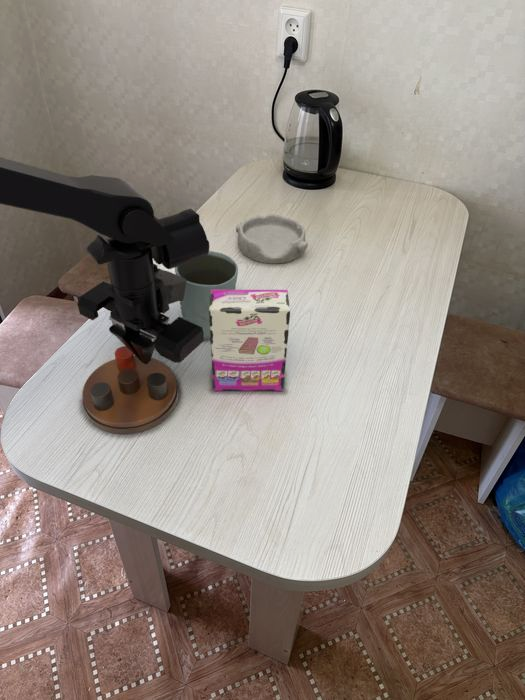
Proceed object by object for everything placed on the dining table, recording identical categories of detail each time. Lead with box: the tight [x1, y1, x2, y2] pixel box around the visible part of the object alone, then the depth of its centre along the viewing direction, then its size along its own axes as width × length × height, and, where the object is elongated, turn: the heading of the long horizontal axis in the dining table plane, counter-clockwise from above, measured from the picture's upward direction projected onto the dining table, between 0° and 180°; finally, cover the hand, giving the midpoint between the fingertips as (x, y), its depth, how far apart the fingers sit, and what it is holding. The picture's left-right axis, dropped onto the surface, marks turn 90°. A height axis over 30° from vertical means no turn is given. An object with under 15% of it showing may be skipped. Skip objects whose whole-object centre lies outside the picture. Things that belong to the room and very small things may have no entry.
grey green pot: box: [174, 250, 239, 340], centre depth 86 cm, size 10×10×12 cm
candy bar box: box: [209, 289, 291, 392], centre depth 75 cm, size 11×5×16 cm, turn 92°
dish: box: [235, 213, 309, 264], centre depth 107 cm, size 14×14×5 cm
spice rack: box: [82, 345, 177, 428], centre depth 74 cm, size 14×14×4 cm
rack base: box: [82, 378, 179, 435], centre depth 76 cm, size 14×14×1 cm
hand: (146, 361), depth 77 cm, fingers closed
